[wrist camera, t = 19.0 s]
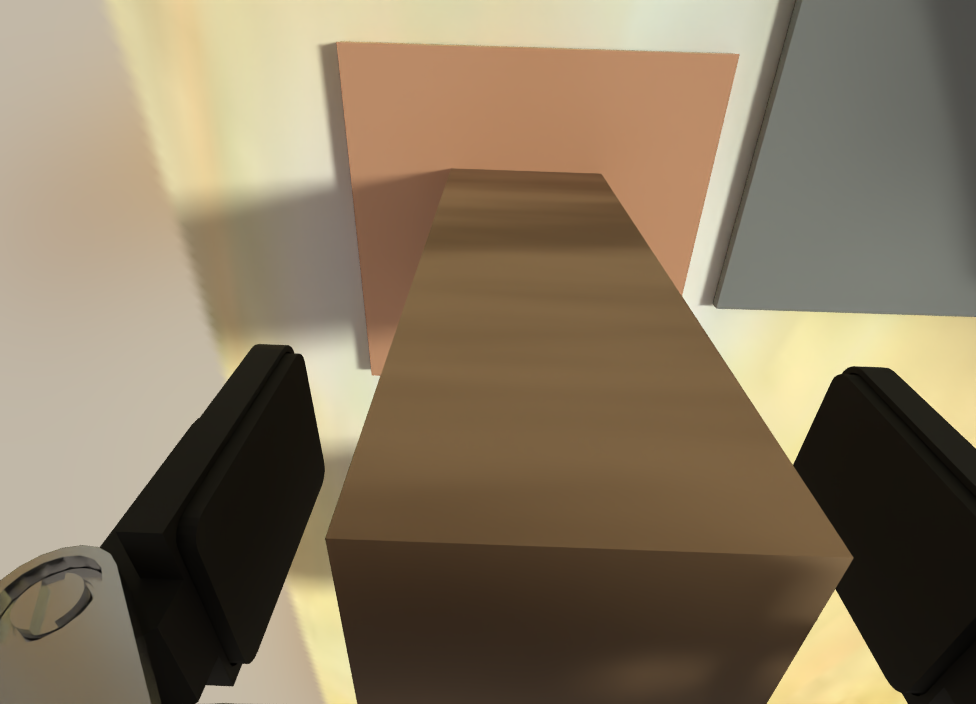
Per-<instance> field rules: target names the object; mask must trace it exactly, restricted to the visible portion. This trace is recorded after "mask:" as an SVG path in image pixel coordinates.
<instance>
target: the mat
mask: <svg viewBox="0 0 976 704" xmlns="http://www.w3.org/2000/svg"><path fill="white" fill-rule="evenodd" d="M713 305H714V306H715V307H716V308H718V309H748V310H779V311H810V312H840V313H871V314H902V315H932V316H963V317H976V0H796V2H795V6H794V10H793V13H792V17H791V21H790V24H789V28H788V32H787V35H786V39H785V43H784V46H783V50H782V53H781V57H780V61H779V64H778V68H777V72H776V75H775V79H774V83H773V86H772V90H771V94H770V97H769V101H768V105H767V108H766V112H765V115H764V119H763V123H762V126H761V130H760V134H759V137H758V141H757V145H756V148H755V152H754V156H753V159H752V163H751V167H750V170H749V174H748V178H747V181H746V185H745V188H744V192H743V196H742V199H741V203H740V207H739V210H738V214H737V218H736V221H735V225H734V229H733V232H732V236H731V240H730V243H729V247H728V250H727V254H726V258H725V261H724V265H723V269H722V272H721V276H720V280H719V283H718V287H717V291H716V294H715V298H714V302H713Z"/></svg>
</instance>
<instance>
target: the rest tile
mask: <svg viewBox="0 0 976 704" xmlns="http://www.w3.org/2000/svg"><path fill="white" fill-rule="evenodd" d="M336 43H337V52H338V62H339V71H340V81H341V90H342V99H343V109H344V118H345V128H346V137H347V146H348V156H349V165H350V175H351V184H352V194H353V203H354V212H355V222H356V231H357V241H358V250H359V259H360V269H361V278H362V288H363V297H364V307H365V316H366V325H367V335H368V344H369V354H370V363H371V372H372V375H379V376H381V373H382V370H383V367H384V364H385V361H386V358H387V355H388V352H389V349H390V347H391V344H392V341H393V338H394V335H395V332H396V329H397V326H398V323H399V320H400V317H401V314H402V311H403V308H404V305H405V302H406V299H407V297H408V294H409V291H410V288H411V285H412V282H413V279H414V276H415V273H416V270H417V267H418V264H419V261H420V258H421V255H422V252H423V249H424V247H425V244H426V241H427V238H428V235H429V232H430V229H431V226H432V223H433V220H434V217H435V214H436V211H437V208H438V205H439V202H440V199H441V197H442V194H443V191H444V188H445V185H446V182H447V179H448V176H449V173H450V170H451V168H455V169H484V170H512V171H540V172H569V173H597V174H602V175H603V177H604V178H605V180H606V181H607V183H608V185H609V186H610V188H611V189H612V191H613V192H614V194H615V195H616V197H617V198H618V200H619V201H620V203H621V204H622V206H623V207H624V209H625V210H626V212H627V213H628V215H629V216H630V218H631V220H632V221H633V223H634V224H635V226H636V227H637V229H638V230H639V232H640V233H641V235H642V236H643V238H644V239H645V241H646V242H647V244H648V245H649V247H650V248H651V250H652V252H653V253H654V255H655V256H656V258H657V259H658V261H659V262H660V264H661V265H662V267H663V268H664V270H665V271H666V273H667V274H668V276H669V277H670V279H671V280H672V282H673V284H674V285H675V287H676V288H677V290H678V291H679V293H680V294H681V296H682V294H683V289H684V285H685V281H686V277H687V273H688V268H689V264H690V260H691V256H692V252H693V247H694V243H695V239H696V235H697V231H698V227H699V222H700V218H701V214H702V210H703V206H704V201H705V197H706V193H707V189H708V185H709V180H710V176H711V172H712V168H713V164H714V159H715V155H716V151H717V147H718V143H719V138H720V134H721V130H722V126H723V122H724V117H725V113H726V109H727V105H728V101H729V96H730V92H731V88H732V84H733V80H734V75H735V71H736V67H737V63H738V59H739V54H733V53H703V52H671V51H638V50H605V49H573V48H540V47H507V46H475V45H442V44H409V43H377V42H344V41H341V42H336Z"/></svg>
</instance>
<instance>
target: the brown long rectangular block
mask: <svg viewBox="0 0 976 704" xmlns="http://www.w3.org/2000/svg"><path fill="white" fill-rule="evenodd" d="M325 540H326V545H327V550H328V555H329V560H330V565H331V571H332V576H333V581H334V586H335V591H336V596H337V601H338V607H339V612H340V617H341V622H342V627H343V632H344V637H345V643H346V648H347V653H348V658H349V663H350V668H351V673H352V679H353V684H354V689H355V694H356V699H357V704H767V702H768V700H769V699H770V697H771V695H772V694H773V692H774V690H775V689H776V687H777V685H778V684H779V682H780V680H781V679H782V677H783V675H784V674H785V672H786V670H787V669H788V667H789V665H790V664H791V662H792V660H793V659H794V657H795V655H796V654H797V652H798V650H799V649H800V647H801V645H802V644H803V642H804V640H805V639H806V637H807V635H808V634H809V632H810V630H811V629H812V627H813V625H814V623H815V622H816V620H817V618H818V617H819V615H820V613H821V612H822V610H823V608H824V607H825V605H826V603H827V602H828V600H829V598H830V597H831V595H832V593H833V592H834V590H835V588H836V587H837V585H838V583H839V582H840V580H841V578H842V577H843V575H844V573H845V572H846V570H847V568H848V567H849V565H850V563H851V562H852V560H853V556H852V555H851V553H850V552H849V550H848V549H847V547H846V545H845V544H844V542H843V541H842V539H841V538H840V536H839V535H838V533H837V532H836V530H835V529H834V527H833V526H832V524H831V523H830V521H829V520H828V518H827V517H826V515H825V514H824V512H823V510H822V509H821V507H820V506H819V504H818V503H817V501H816V500H815V498H814V497H813V495H812V494H811V492H810V491H809V489H808V488H807V486H806V485H805V483H804V482H803V480H802V478H801V477H800V475H799V474H798V472H797V471H796V469H795V468H794V466H793V465H792V463H791V462H790V460H789V459H788V457H787V456H786V454H785V453H784V451H783V450H782V448H781V446H780V445H779V443H778V442H777V440H776V439H775V437H774V436H773V434H772V433H771V431H770V430H769V428H768V427H767V425H766V424H765V422H764V421H763V419H762V418H761V416H760V415H759V413H758V411H757V410H756V408H755V407H754V405H753V404H752V402H751V401H750V399H749V398H748V396H747V395H746V393H745V392H744V390H743V389H742V387H741V386H740V384H739V383H738V381H737V379H736V378H735V376H734V375H733V373H732V372H731V370H730V369H729V367H728V366H727V364H726V363H725V361H724V360H723V358H722V357H721V355H720V354H719V352H718V351H717V349H716V347H715V346H714V344H713V343H712V341H711V340H710V338H709V337H708V335H707V334H706V332H705V331H704V329H703V328H702V326H701V325H700V323H699V322H698V320H697V319H696V317H695V316H694V314H693V312H692V311H691V309H690V308H689V306H688V305H687V303H686V302H685V300H684V299H683V297H682V296H681V294H680V293H679V291H678V290H677V288H676V287H675V285H674V284H673V282H672V280H671V279H670V277H669V276H668V274H667V273H666V271H665V270H664V268H663V267H662V265H661V264H660V262H659V261H658V259H657V258H656V256H655V255H654V253H653V252H652V250H651V248H650V247H649V245H648V244H647V242H646V241H645V239H644V238H643V236H642V235H641V233H640V232H639V230H638V229H637V227H636V226H635V224H634V223H633V221H632V220H631V218H630V216H629V215H628V213H627V212H626V210H625V209H624V207H623V206H622V204H621V203H620V201H619V200H618V198H617V197H616V195H615V194H614V192H613V191H612V189H611V188H610V186H609V185H608V183H607V181H606V180H605V178H604V177H603V175H602V174H597V173H569V172H540V171H512V170H484V169H455V168H451V170H450V173H449V176H448V179H447V182H446V185H445V188H444V191H443V194H442V197H441V199H440V202H439V205H438V208H437V211H436V214H435V217H434V220H433V223H432V226H431V229H430V232H429V235H428V238H427V241H426V244H425V247H424V249H423V252H422V255H421V258H420V261H419V264H418V267H417V270H416V273H415V276H414V279H413V282H412V285H411V288H410V291H409V294H408V297H407V299H406V302H405V305H404V308H403V311H402V314H401V317H400V320H399V323H398V326H397V329H396V332H395V335H394V338H393V341H392V344H391V347H390V349H389V352H388V355H387V358H386V361H385V364H384V367H383V370H382V373H381V376H380V379H379V382H378V385H377V388H376V391H375V394H374V397H373V399H372V402H371V405H370V408H369V411H368V414H367V417H366V420H365V423H364V426H363V429H362V432H361V435H360V438H359V441H358V444H357V447H356V449H355V452H354V455H353V458H352V461H351V464H350V467H349V470H348V473H347V476H346V479H345V482H344V485H343V488H342V491H341V494H340V497H339V499H338V502H337V505H336V508H335V511H334V514H333V517H332V520H331V523H330V526H329V529H328V532H327V535H326V538H325Z"/></svg>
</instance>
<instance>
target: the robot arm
mask: <svg viewBox="0 0 976 704" xmlns="http://www.w3.org/2000/svg"><path fill="white" fill-rule="evenodd" d="M793 466H794V468H795V469H796V471H797V472H798V474H799V475H800V477H801V478H802V480H803V482H804V483H805V485H806V486H807V488H808V489H809V491H810V492H811V494H812V495H813V497H814V498H815V500H816V501H817V503H818V504H819V506H820V507H821V509H822V510H823V512H824V514H825V515H826V517H827V518H828V520H829V521H830V523H831V524H832V526H833V527H834V529H835V530H836V532H837V533H838V535H839V536H840V538H841V539H842V541H843V542H844V544H845V545H846V547H847V549H848V550H849V552H850V553H851V555H852V556H853V560H852V562H851V563H850V565H849V567H848V568H847V570H846V572H845V573H844V575H843V577H842V578H841V580H840V582H839V583H838V585H837V587H836V588H835V589H836V591H837V592H838V594H839V596H840V598H841V600H842V601H843V603H844V605H845V607H846V608H847V610H848V612H849V614H850V615H851V617H852V619H853V621H854V623H855V624H856V626H857V628H858V630H859V631H860V633H861V635H862V637H863V639H864V640H865V642H866V644H867V646H868V647H869V649H870V651H871V653H872V655H873V656H874V658H875V660H876V662H877V663H878V665H879V667H880V669H881V670H882V672H883V674H884V676H885V678H886V679H887V681H888V682H889V684H890V685H891V686H892V687H893V688H894V689H895V690H897V691H899V692H900V693H902V694H903V696H904V698H905V699H906V701H907V703H908V704H976V448H974V447H973V446H972V445H971V444H970V443H969V442H968V441H967V440H966V439H965V438H964V437H963V436H962V435H961V434H960V433H959V432H958V431H956V430H955V429H954V428H953V427H952V426H951V425H950V424H949V423H948V422H947V421H946V420H945V419H944V418H943V417H942V416H941V415H940V414H938V413H937V412H936V411H935V410H934V409H933V408H932V407H931V406H930V405H929V404H928V403H927V402H926V401H925V400H924V399H923V398H922V397H920V396H919V395H918V394H917V393H916V392H915V391H914V390H913V389H912V388H911V387H910V386H909V385H908V384H907V383H906V382H905V381H904V380H902V379H901V378H900V377H899V376H898V375H897V374H896V373H895V372H894V371H892V370H891V369H889V368H882V367H855V366H853V367H849V368H847V369H846V370H845V371H844V372H843V373H842V374H840V375H837V376H836V377H834V379H833V380H832V382H831V384H830V386H829V388H828V391H827V393H826V395H825V397H824V399H823V401H822V404H821V406H820V408H819V410H818V412H817V414H816V417H815V419H814V421H813V423H812V425H811V427H810V430H809V432H808V434H807V436H806V438H805V441H804V443H803V445H802V447H801V449H800V451H799V454H798V456H797V458H796V460H795V462H794V464H793ZM324 472H325V466H324V459H323V454H322V449H321V444H320V439H319V433H318V428H317V423H316V418H315V413H314V407H313V402H312V397H311V392H310V387H309V382H308V376H307V371H306V366H305V361H304V358H303V356H302V355H301V354H294V351H293V349H292V347H291V346H289V345H267V344H257V345H254V346H253V347H252V348H251V350H250V351H249V352H248V354H247V355H246V356H245V358H244V359H243V361H242V362H241V363H240V365H239V366H238V367H237V369H236V370H235V371H234V373H233V374H232V375H231V377H230V378H229V379H228V381H227V382H226V383H225V385H224V386H223V387H222V389H221V390H220V391H219V393H218V394H217V396H216V397H215V398H214V399H213V401H212V402H211V403H210V405H209V406H208V408H207V409H206V410H205V411H204V413H203V414H202V416H201V417H200V418H198V419H197V420H196V421H195V422H194V423H193V424H192V425H191V427H190V428H189V429H188V431H187V432H186V433H185V435H184V436H183V437H182V439H181V440H180V441H179V443H178V444H177V445H176V447H175V448H174V449H173V451H172V452H171V453H170V455H169V456H168V457H167V459H166V460H165V461H164V463H163V464H162V465H161V467H160V468H159V469H158V471H157V472H156V473H155V475H154V476H153V477H152V479H151V480H150V481H149V483H148V484H147V485H146V487H145V488H144V489H143V491H142V492H141V493H140V495H139V496H138V497H137V498H136V500H135V501H134V503H133V504H132V505H131V507H130V508H129V509H128V510H127V512H126V513H125V514H124V516H123V517H122V518H121V520H120V521H119V522H118V524H117V525H116V527H115V528H114V529H113V530H112V532H111V533H110V534H109V536H108V537H107V538H106V540H105V541H104V542H103V544H102V545H101V546H100V548H99V547H93V546H84V545H80V546H73V547H65V548H61V549H58V550H55V551H52V552H49V553H46V554H43V555H40V556H38V557H37V558H35V559H33V560H31V561H29V562H27V563H25V564H23V565H21V566H19V567H18V568H17V569H15V570H14V571H12V572H11V573H10V574H8V575H7V576H6V577H4V578H3V579H2V580H0V704H196V703H197V702H198V701H199V699H200V697H201V694H202V692H203V690H204V688H205V685H216V686H234V683H235V681H236V678H237V676H238V673H239V670H240V668H241V666H242V664H249V663H251V662H252V661H253V659H254V658H255V656H256V654H257V652H258V649H259V646H260V644H261V641H262V639H263V636H264V633H265V631H266V628H267V626H268V623H269V621H270V618H271V615H272V613H273V610H274V608H275V605H276V603H277V600H278V597H279V595H280V592H281V590H282V587H283V584H284V582H285V579H286V577H287V574H288V571H289V569H290V566H291V564H292V561H293V559H294V556H295V553H296V551H297V548H298V546H299V543H300V540H301V538H302V535H303V533H304V530H305V527H306V525H307V522H308V520H309V517H310V515H311V512H312V509H313V507H314V504H315V502H316V499H317V496H318V494H319V491H320V489H321V486H322V483H323V479H324ZM219 704H229V703H219Z"/></svg>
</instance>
